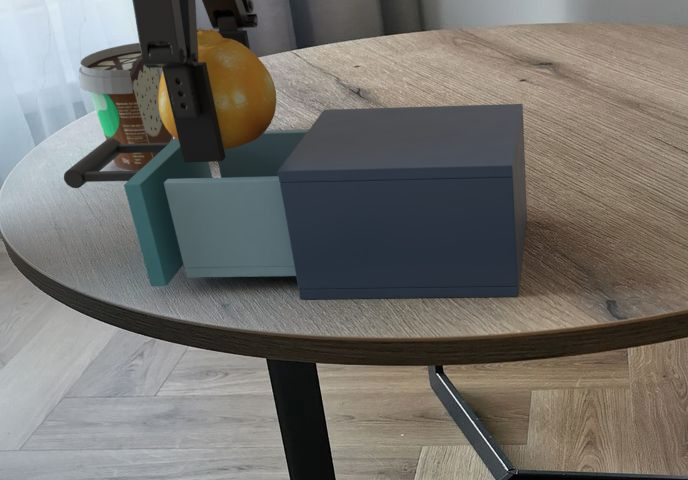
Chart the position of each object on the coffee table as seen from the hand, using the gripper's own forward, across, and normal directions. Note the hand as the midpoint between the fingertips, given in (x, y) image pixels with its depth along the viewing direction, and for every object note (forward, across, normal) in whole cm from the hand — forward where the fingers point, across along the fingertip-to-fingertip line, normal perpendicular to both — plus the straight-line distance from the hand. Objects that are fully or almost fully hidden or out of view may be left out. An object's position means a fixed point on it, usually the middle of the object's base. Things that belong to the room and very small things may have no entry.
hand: (225, 138), depth 70 cm
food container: (+10, +25, +20) cm, 33 cm away
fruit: (+1, 0, 0) cm, 1 cm away
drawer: (+9, 0, +1) cm, 9 cm away
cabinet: (+10, 0, -14) cm, 17 cm away
